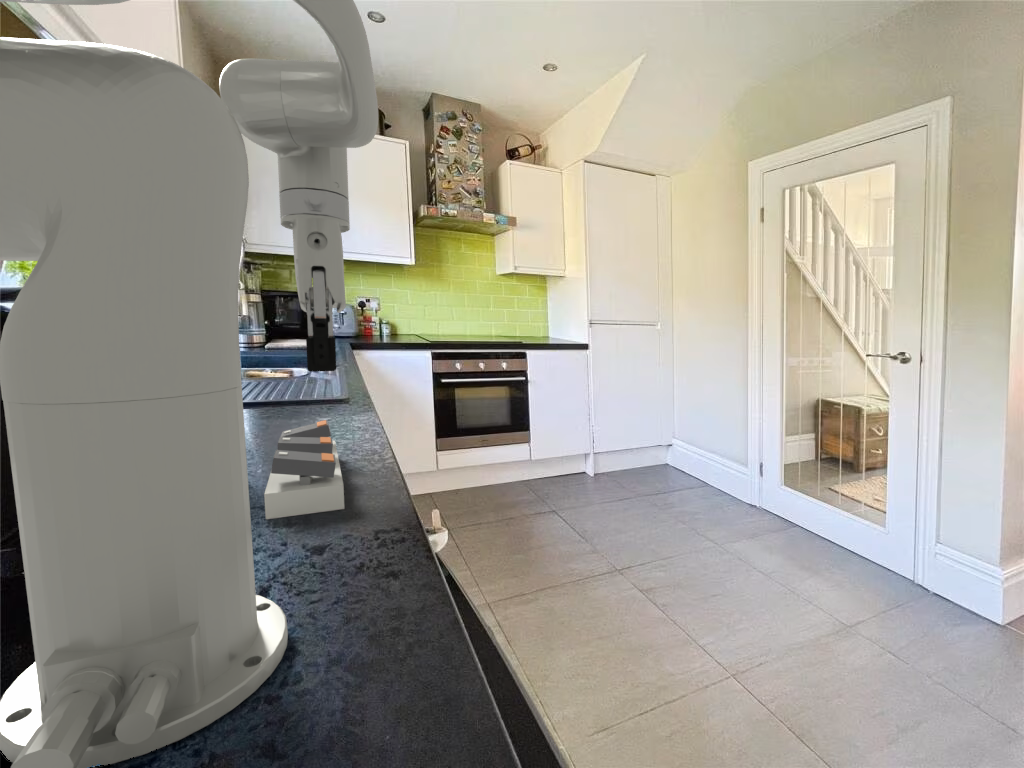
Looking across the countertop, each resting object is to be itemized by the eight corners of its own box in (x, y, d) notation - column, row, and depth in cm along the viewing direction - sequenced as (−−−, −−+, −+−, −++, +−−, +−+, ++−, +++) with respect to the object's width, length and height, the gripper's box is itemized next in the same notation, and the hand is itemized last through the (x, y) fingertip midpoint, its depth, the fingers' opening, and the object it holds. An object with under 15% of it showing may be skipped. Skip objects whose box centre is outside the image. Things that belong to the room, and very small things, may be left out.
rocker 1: (331, 436, 66) (327, 423, 66) (283, 448, 64) (280, 435, 64) (330, 430, 69) (327, 419, 69) (285, 442, 67) (282, 430, 67)
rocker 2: (331, 457, 59) (332, 442, 59) (276, 456, 56) (277, 441, 56) (330, 450, 62) (331, 436, 62) (278, 449, 60) (279, 435, 60)
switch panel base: (344, 508, 51) (343, 476, 51) (265, 519, 48) (263, 485, 48) (335, 457, 71) (334, 434, 71) (280, 463, 68) (278, 438, 68)
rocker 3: (333, 477, 51) (336, 461, 51) (270, 473, 49) (273, 456, 49) (332, 468, 55) (334, 453, 55) (273, 464, 52) (276, 448, 52)
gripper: (353, 200, 51) (359, 374, 53) (345, 230, 65) (350, 367, 67) (275, 193, 49) (284, 376, 50) (283, 225, 62) (290, 368, 64)
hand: (322, 370), depth 59 cm, fingers closed
